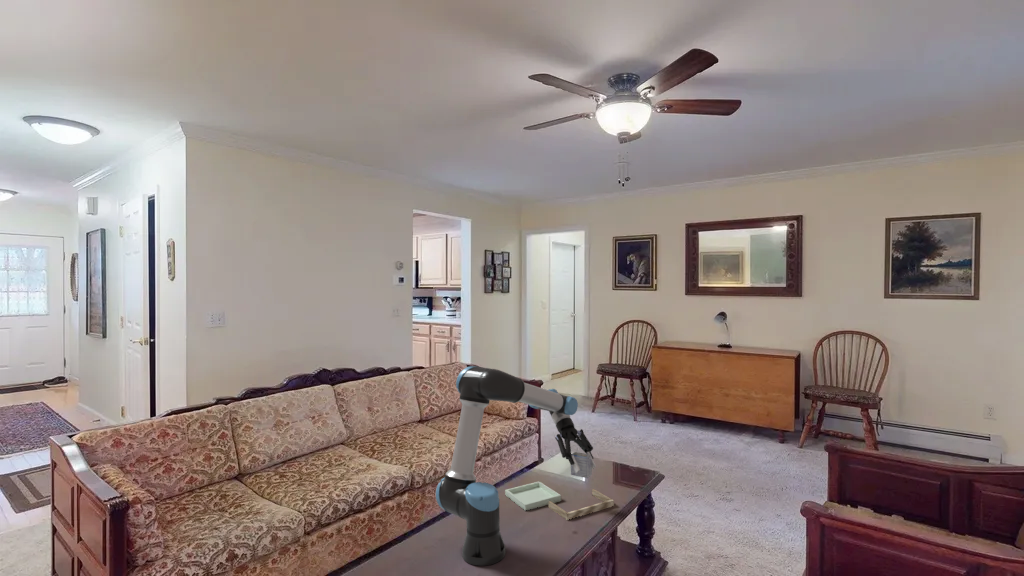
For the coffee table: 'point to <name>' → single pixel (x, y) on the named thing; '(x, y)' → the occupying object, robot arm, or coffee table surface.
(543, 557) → the coffee table surface
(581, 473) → the medicine box
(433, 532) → the coffee table surface
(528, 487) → the sage-green tray
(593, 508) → the frame
